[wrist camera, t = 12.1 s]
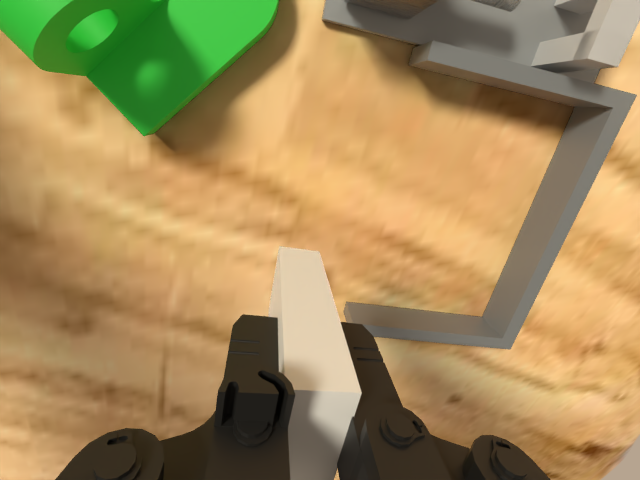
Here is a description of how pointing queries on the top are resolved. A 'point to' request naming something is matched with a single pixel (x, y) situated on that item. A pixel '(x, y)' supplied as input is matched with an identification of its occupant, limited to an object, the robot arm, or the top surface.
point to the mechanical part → (139, 46)
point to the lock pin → (421, 5)
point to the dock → (530, 79)
